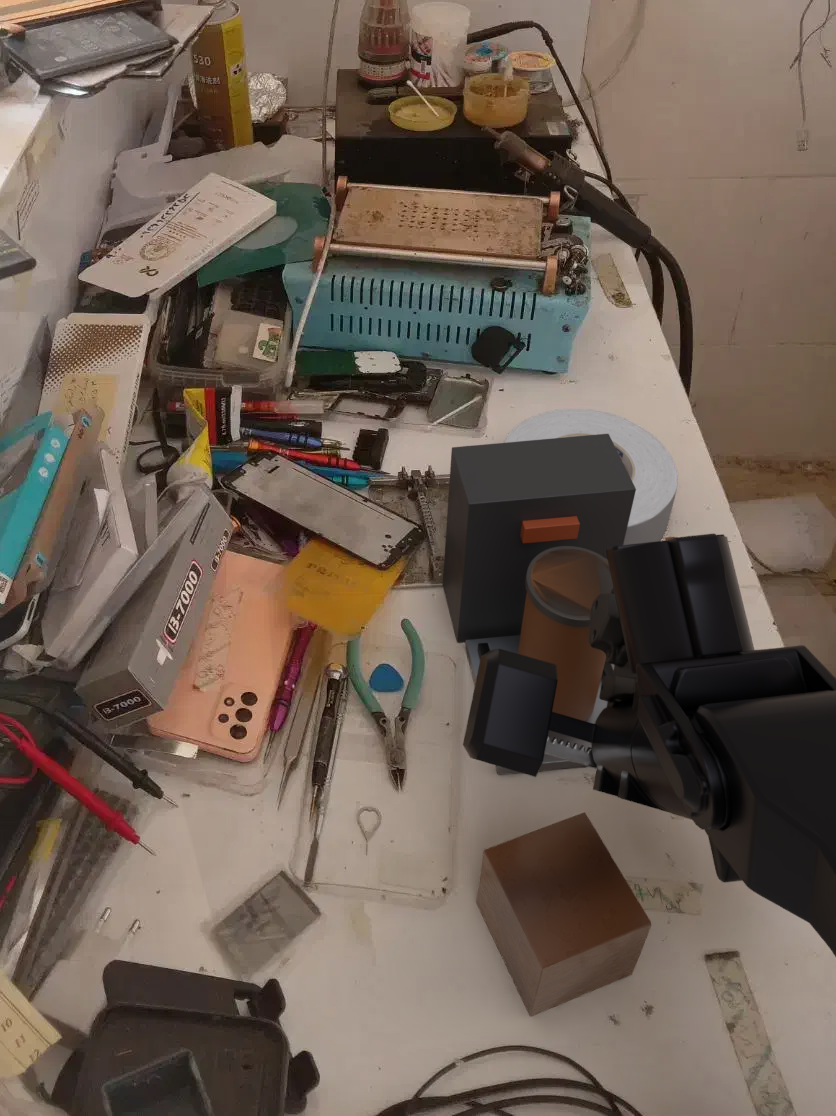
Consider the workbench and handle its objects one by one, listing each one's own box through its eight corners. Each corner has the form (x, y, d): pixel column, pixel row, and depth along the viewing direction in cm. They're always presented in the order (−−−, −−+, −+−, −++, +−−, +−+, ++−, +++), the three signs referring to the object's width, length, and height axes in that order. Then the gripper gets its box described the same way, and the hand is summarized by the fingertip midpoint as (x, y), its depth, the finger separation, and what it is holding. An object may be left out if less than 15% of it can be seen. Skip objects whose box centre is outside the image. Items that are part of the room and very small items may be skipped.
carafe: (609, 727, 73) (638, 615, 65) (522, 736, 73) (541, 624, 65) (576, 638, 79) (599, 525, 71) (496, 646, 79) (510, 534, 71)
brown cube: (632, 974, 61) (652, 923, 57) (530, 1017, 59) (542, 968, 55) (571, 865, 66) (585, 811, 62) (475, 902, 65) (483, 849, 60)
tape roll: (639, 593, 83) (649, 552, 80) (468, 527, 90) (472, 487, 87) (688, 479, 93) (699, 439, 90) (531, 428, 100) (536, 388, 97)
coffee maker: (607, 637, 80) (640, 497, 70) (459, 651, 80) (471, 512, 70) (581, 572, 85) (608, 433, 76) (442, 584, 85) (451, 447, 75)
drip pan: (649, 760, 72) (654, 747, 70) (497, 775, 71) (499, 761, 70) (600, 634, 80) (603, 620, 79) (464, 647, 80) (466, 633, 79)
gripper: (893, 645, 51) (753, 654, 66) (534, 546, 52) (476, 577, 67) (874, 878, 48) (730, 832, 62) (491, 765, 49) (440, 747, 64)
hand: (592, 739), depth 64 cm, fingers open, 9 cm apart
